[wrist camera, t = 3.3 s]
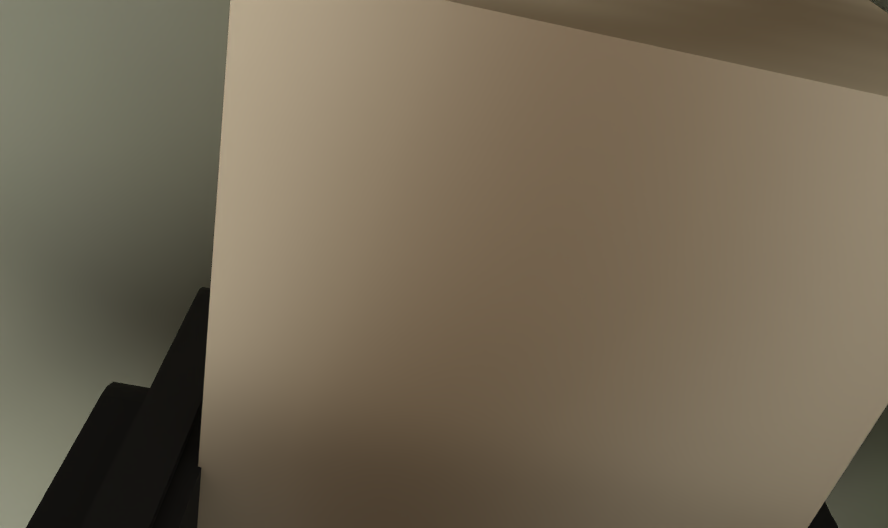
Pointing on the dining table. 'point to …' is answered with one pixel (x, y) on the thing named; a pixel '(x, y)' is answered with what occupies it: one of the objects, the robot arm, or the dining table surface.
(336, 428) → the beige rectangular bar
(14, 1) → the dining table surface
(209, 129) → the dining table surface
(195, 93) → the dining table surface
